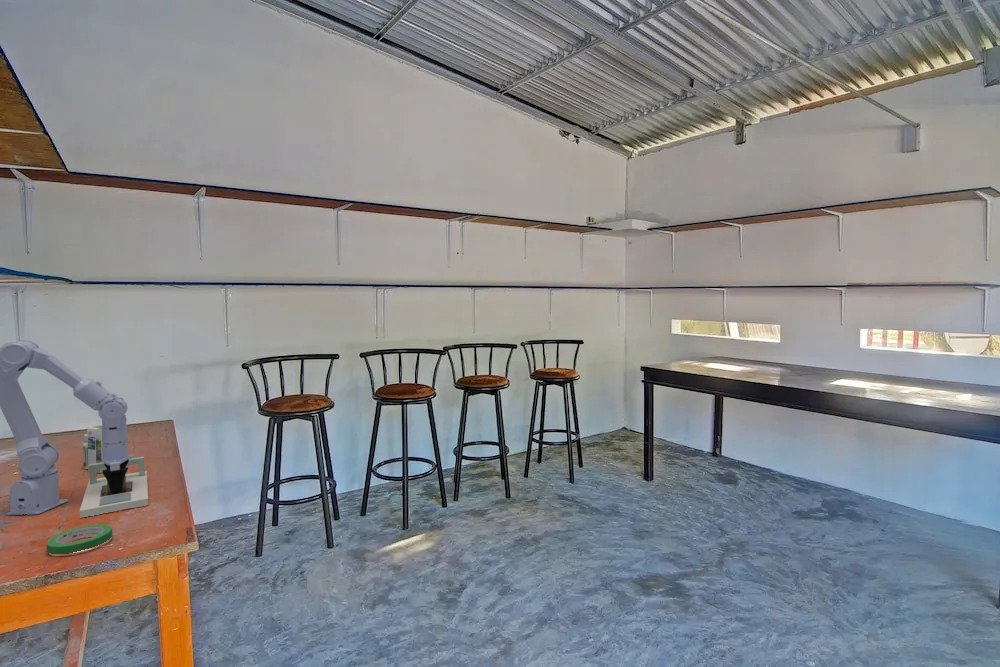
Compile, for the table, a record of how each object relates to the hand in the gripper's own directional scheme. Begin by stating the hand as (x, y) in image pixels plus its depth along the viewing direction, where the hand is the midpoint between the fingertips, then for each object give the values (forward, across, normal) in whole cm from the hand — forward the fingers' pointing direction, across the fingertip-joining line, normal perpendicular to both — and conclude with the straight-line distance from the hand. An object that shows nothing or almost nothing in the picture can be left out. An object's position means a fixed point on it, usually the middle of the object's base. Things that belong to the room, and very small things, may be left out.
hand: (117, 490), depth 143 cm
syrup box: (+2, +33, +5) cm, 33 cm away
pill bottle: (+2, +39, +7) cm, 40 cm away
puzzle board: (+2, 0, 0) cm, 2 cm away
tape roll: (+2, -34, +6) cm, 35 cm away
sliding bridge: (-1, +11, 0) cm, 11 cm away
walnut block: (+2, 0, 0) cm, 2 cm away
